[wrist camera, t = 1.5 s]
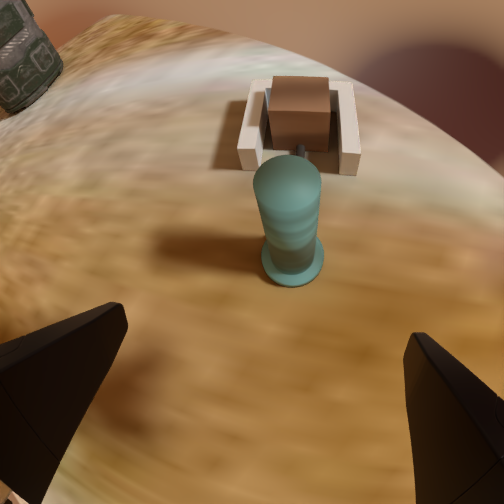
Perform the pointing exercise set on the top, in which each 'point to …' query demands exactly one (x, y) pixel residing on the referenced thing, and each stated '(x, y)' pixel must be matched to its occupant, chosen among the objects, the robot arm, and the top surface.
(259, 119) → the lane
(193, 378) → the top surface
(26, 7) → the canister
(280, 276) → the tethered block
